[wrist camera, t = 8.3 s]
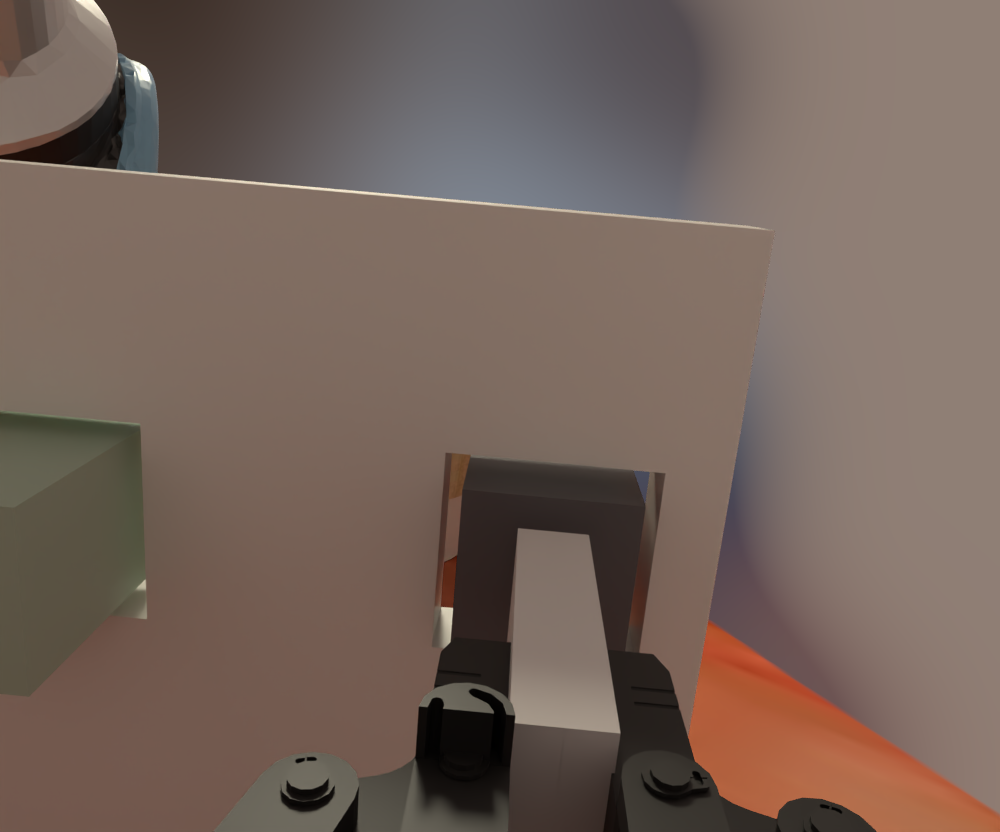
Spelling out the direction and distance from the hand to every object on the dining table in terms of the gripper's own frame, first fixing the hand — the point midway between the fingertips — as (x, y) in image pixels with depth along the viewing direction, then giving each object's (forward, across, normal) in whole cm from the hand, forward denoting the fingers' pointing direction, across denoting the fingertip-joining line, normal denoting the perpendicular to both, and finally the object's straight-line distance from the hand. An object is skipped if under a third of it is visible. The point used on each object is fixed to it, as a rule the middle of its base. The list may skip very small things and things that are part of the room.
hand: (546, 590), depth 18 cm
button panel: (+5, -6, -10) cm, 13 cm away
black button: (+4, 0, -2) cm, 4 cm away
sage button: (+1, -12, -2) cm, 12 cm away
